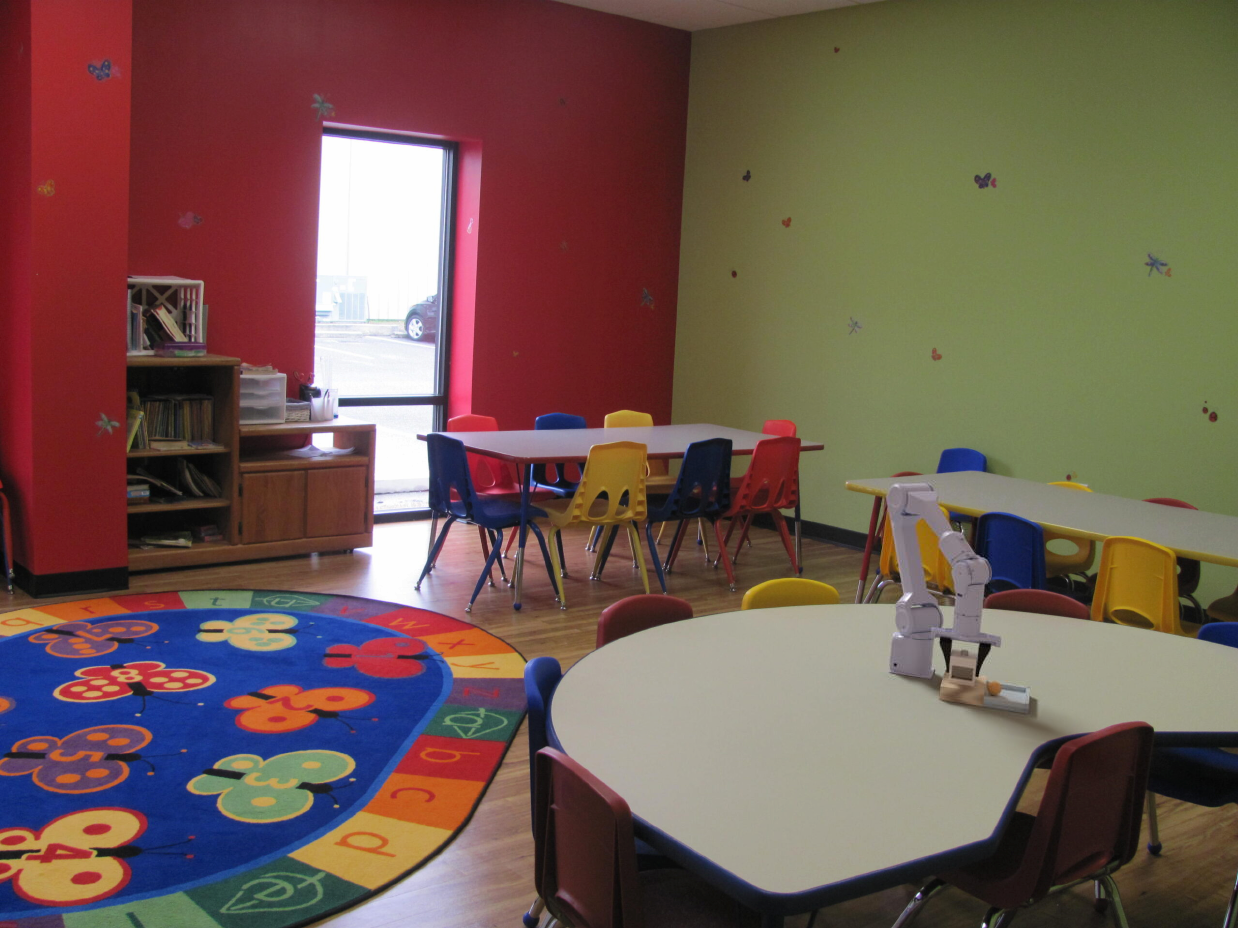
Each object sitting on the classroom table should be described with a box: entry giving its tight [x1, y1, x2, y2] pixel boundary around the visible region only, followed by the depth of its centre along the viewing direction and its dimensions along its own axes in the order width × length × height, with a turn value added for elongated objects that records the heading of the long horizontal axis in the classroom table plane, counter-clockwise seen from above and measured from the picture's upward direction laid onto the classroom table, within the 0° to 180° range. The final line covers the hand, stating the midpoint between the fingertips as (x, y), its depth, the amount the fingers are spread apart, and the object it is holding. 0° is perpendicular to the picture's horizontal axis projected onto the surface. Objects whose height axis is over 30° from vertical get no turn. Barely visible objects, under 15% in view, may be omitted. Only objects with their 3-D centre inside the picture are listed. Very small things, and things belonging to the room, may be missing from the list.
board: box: [938, 669, 988, 707], centre depth 238 cm, size 9×12×3 cm
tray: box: [982, 680, 1031, 715], centre depth 234 cm, size 9×12×2 cm
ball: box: [987, 680, 1002, 695], centre depth 235 cm, size 3×3×3 cm
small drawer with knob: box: [948, 648, 978, 686], centre depth 237 cm, size 5×5×7 cm
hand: (962, 673), depth 237 cm, fingers closed on small drawer with knob, 5 cm apart
